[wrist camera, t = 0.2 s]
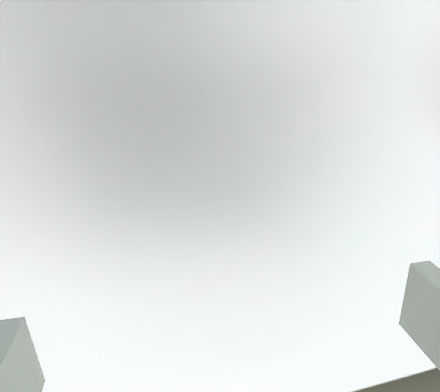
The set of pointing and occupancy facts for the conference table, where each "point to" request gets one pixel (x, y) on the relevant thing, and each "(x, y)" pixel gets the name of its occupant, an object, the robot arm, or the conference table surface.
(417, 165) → the conference table surface
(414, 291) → the robot arm
